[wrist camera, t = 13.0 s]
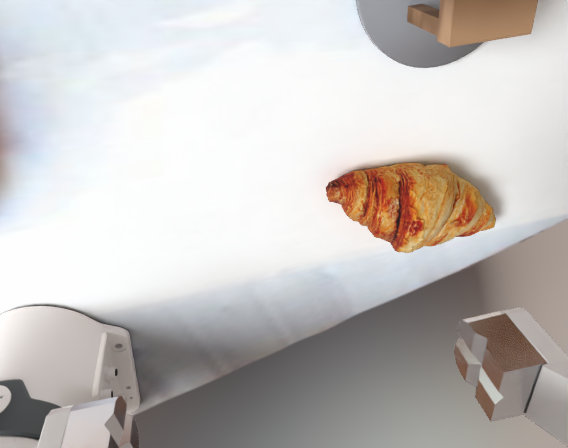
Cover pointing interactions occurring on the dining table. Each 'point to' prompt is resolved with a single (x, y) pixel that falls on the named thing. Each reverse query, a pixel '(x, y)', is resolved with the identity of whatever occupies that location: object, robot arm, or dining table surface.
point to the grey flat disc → (406, 34)
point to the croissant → (412, 204)
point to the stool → (474, 20)
